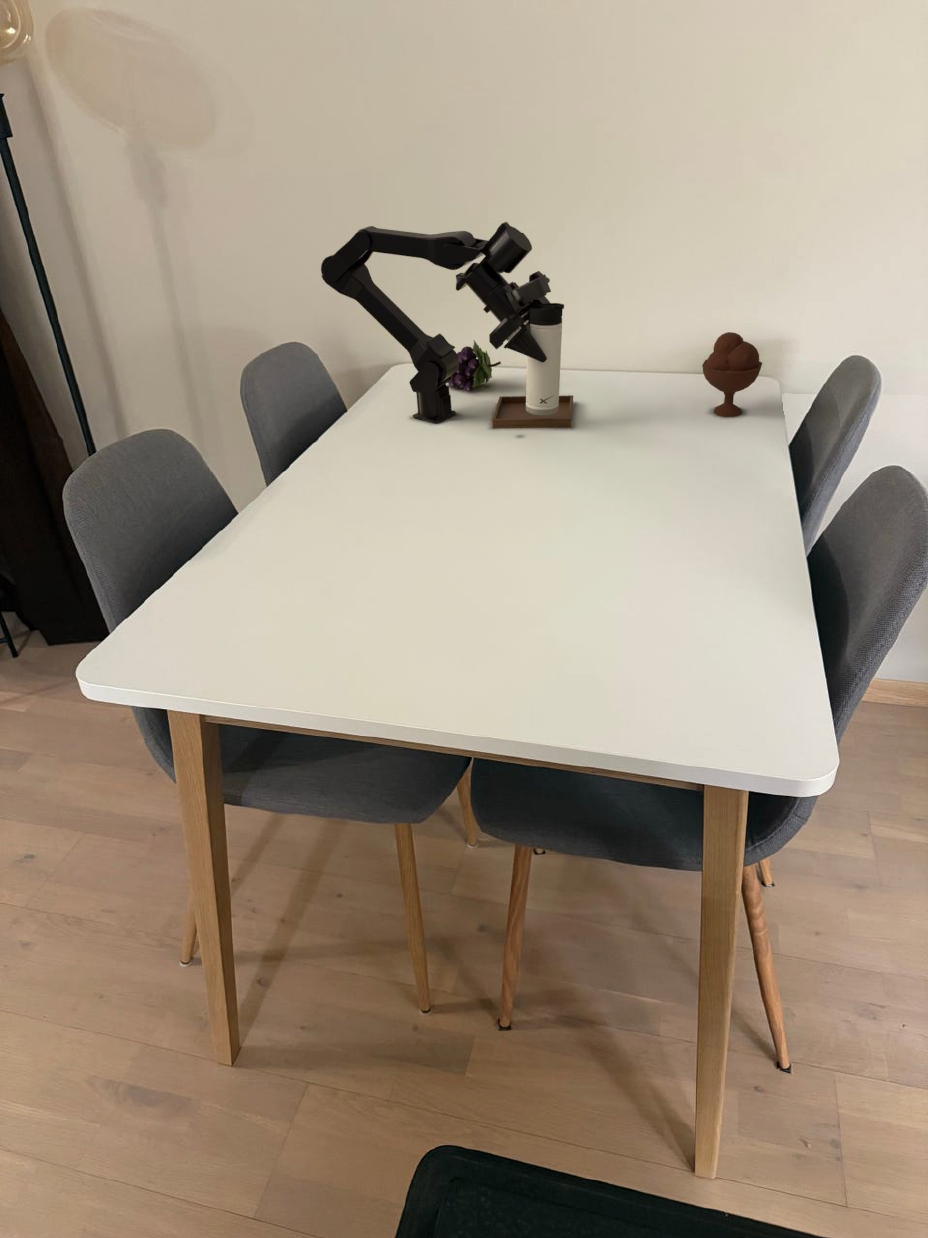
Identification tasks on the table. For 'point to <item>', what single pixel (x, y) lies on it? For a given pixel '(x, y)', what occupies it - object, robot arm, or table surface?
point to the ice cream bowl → (731, 370)
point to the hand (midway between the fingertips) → (550, 355)
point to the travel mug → (546, 374)
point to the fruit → (472, 368)
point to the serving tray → (516, 416)
